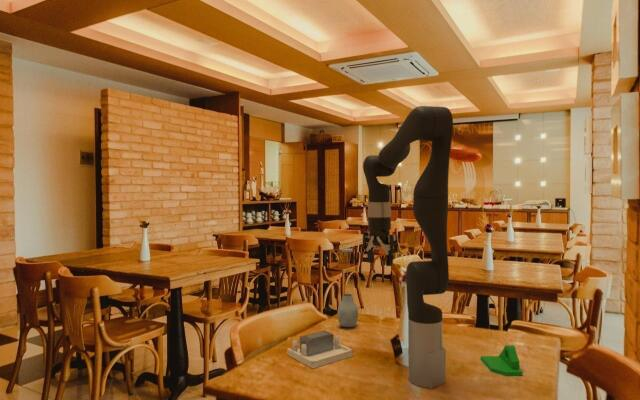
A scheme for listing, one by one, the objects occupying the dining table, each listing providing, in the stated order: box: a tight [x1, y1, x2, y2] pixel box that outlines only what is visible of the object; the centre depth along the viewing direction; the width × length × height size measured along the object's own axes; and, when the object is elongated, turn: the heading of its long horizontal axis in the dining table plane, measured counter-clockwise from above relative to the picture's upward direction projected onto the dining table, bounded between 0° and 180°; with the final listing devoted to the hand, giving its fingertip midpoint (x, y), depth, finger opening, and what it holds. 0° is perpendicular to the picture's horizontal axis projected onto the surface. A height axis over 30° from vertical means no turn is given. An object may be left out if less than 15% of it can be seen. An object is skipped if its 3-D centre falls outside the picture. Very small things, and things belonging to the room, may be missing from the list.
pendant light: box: [336, 248, 359, 328], centre depth 173 cm, size 8×8×30 cm
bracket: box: [480, 344, 523, 377], centre depth 133 cm, size 12×8×7 cm, turn 179°
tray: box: [286, 331, 354, 369], centre depth 144 cm, size 14×16×5 cm
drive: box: [299, 330, 335, 357], centre depth 146 cm, size 5×10×5 cm, turn 127°
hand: (379, 264), depth 150 cm, fingers open, 8 cm apart
